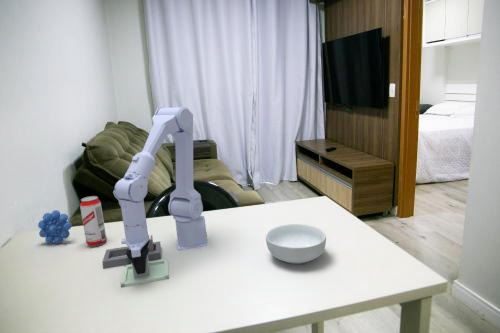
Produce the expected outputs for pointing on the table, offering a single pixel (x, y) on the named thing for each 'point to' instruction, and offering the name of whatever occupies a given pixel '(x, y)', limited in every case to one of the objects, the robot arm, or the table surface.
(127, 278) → the tray
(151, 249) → the twin plug
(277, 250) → the cereal bowl
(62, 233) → the blue lumpy cluster
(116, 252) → the grey double window frame
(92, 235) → the beer can
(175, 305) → the table surface
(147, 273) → the plug
